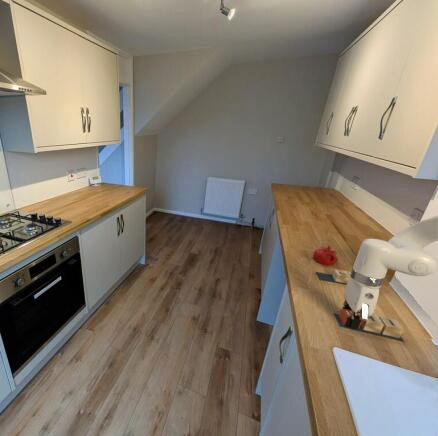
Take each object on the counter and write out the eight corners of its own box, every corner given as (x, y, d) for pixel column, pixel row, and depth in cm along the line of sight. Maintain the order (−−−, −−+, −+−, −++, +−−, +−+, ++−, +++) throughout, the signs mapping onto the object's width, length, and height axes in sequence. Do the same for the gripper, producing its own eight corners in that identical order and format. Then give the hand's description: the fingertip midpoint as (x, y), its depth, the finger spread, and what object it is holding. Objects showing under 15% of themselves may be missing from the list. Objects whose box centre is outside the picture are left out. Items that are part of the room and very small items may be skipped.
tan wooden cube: (373, 324, 81) (377, 315, 79) (380, 333, 77) (384, 324, 75) (357, 320, 82) (361, 311, 81) (363, 329, 78) (367, 321, 77)
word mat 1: (370, 282, 104) (371, 281, 103) (378, 292, 98) (379, 291, 97) (314, 272, 111) (315, 271, 110) (319, 281, 105) (319, 279, 104)
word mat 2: (392, 327, 80) (393, 326, 80) (404, 343, 74) (405, 342, 74) (332, 314, 86) (333, 312, 85) (339, 328, 80) (339, 326, 79)
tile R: (343, 278, 106) (346, 271, 104) (347, 283, 102) (350, 276, 101) (332, 276, 107) (334, 269, 106) (335, 281, 103) (337, 274, 102)
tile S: (353, 319, 82) (357, 311, 81) (359, 328, 79) (362, 320, 77) (338, 316, 84) (341, 307, 83) (343, 324, 80) (346, 316, 79)
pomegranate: (307, 259, 122) (311, 243, 119) (320, 256, 125) (325, 240, 122) (326, 269, 113) (332, 252, 110) (340, 265, 117) (346, 248, 114)
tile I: (392, 328, 79) (396, 319, 78) (399, 338, 75) (404, 329, 74) (375, 324, 80) (379, 315, 79) (382, 334, 76) (386, 325, 75)
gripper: (396, 296, 66) (373, 345, 73) (368, 266, 81) (351, 308, 87) (363, 289, 69) (344, 337, 75) (342, 261, 83) (327, 303, 90)
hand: (348, 321), depth 81 cm, fingers closed on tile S, 4 cm apart
